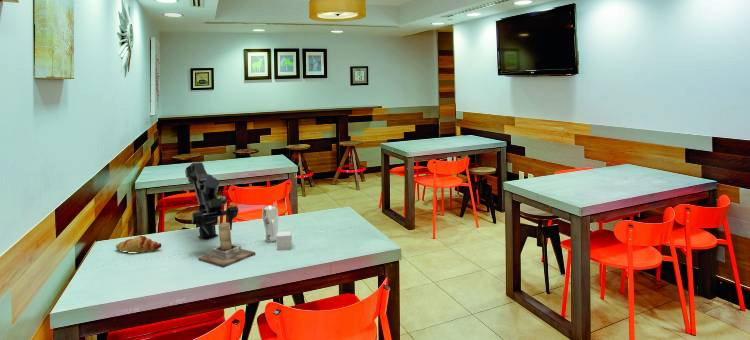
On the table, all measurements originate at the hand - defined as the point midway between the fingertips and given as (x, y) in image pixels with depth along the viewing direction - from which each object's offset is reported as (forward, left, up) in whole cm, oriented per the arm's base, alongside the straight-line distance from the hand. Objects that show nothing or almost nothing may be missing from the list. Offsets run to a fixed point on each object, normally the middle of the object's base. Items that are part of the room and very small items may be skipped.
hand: (220, 231), depth 197 cm
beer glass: (-22, +7, -9) cm, 25 cm away
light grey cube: (-18, +19, -9) cm, 28 cm away
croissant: (+17, -35, -9) cm, 40 cm away
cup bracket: (+3, +7, -9) cm, 12 cm away
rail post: (+3, +7, -8) cm, 11 cm away
